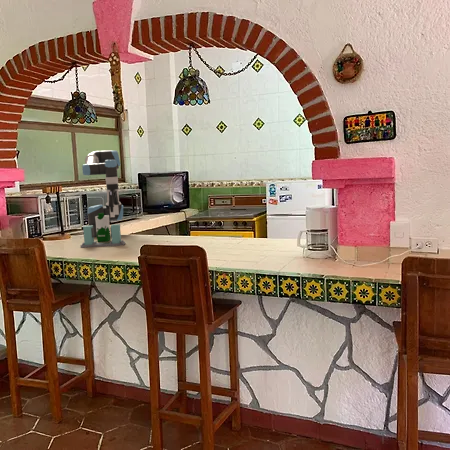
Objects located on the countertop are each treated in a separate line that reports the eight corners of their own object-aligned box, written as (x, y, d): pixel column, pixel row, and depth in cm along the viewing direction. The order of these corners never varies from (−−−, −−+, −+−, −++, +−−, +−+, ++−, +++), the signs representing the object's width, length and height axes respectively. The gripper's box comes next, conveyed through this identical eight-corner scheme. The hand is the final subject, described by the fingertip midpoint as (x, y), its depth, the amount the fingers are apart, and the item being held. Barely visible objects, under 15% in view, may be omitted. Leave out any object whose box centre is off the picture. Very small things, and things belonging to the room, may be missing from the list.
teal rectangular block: (86, 243, 320) (85, 225, 319) (95, 243, 320) (93, 225, 319) (84, 244, 315) (83, 226, 314) (93, 244, 315) (91, 226, 314)
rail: (83, 245, 321) (83, 241, 321) (125, 243, 322) (125, 239, 322) (80, 247, 314) (80, 243, 314) (123, 245, 315) (123, 241, 315)
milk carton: (95, 242, 335) (93, 213, 332) (100, 240, 344) (98, 212, 341) (108, 241, 334) (105, 213, 332) (112, 239, 343) (110, 212, 341)
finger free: (112, 242, 321) (111, 224, 319) (121, 241, 321) (119, 224, 319) (111, 243, 316) (109, 225, 314) (119, 243, 316) (118, 225, 314)
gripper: (110, 182, 326) (112, 213, 329) (102, 184, 301) (104, 218, 304) (121, 182, 326) (123, 213, 329) (114, 184, 301) (116, 217, 304)
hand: (114, 215), depth 316 cm, fingers open, 13 cm apart
